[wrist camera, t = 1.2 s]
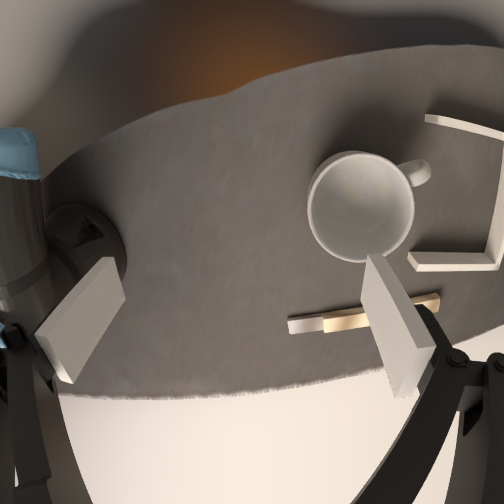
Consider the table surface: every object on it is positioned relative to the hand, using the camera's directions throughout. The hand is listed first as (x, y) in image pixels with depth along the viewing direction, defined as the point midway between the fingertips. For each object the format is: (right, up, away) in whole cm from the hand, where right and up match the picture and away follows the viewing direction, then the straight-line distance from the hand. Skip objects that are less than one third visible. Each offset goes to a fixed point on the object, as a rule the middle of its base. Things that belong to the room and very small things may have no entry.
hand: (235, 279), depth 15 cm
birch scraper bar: (+17, -7, +26) cm, 32 cm away
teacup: (+13, +9, +18) cm, 25 cm away
